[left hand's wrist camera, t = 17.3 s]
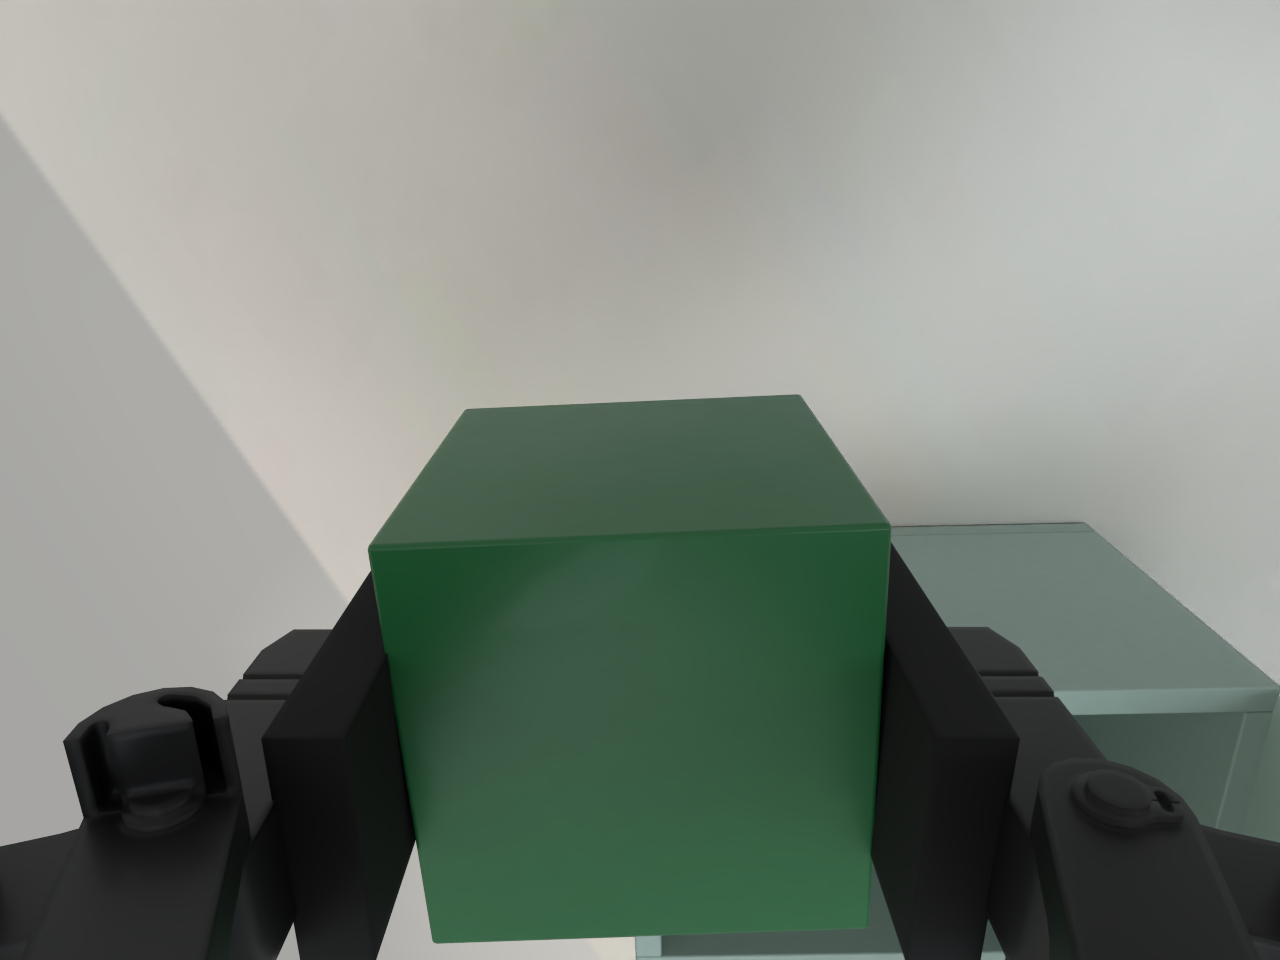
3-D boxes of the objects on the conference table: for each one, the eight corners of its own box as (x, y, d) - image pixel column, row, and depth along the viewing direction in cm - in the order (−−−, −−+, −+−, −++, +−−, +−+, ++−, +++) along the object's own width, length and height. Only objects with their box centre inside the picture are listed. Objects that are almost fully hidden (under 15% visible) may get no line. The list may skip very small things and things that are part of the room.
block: (498, 695, 16) (431, 946, 11) (464, 408, 14) (364, 547, 9) (796, 684, 16) (870, 931, 11) (800, 393, 14) (893, 524, 9)
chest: (638, 749, 37) (636, 977, 27) (631, 532, 34) (626, 699, 23) (1049, 741, 37) (1205, 969, 27) (1086, 522, 33) (1282, 686, 23)
